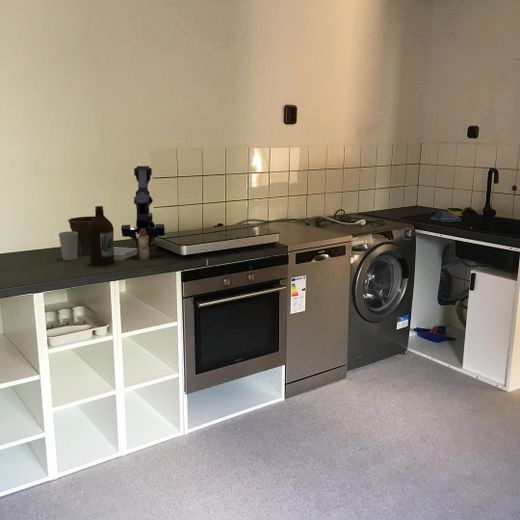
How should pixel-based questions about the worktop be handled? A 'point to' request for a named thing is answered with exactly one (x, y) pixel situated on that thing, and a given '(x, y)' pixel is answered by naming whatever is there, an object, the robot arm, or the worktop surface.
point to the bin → (124, 253)
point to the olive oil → (101, 239)
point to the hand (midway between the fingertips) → (143, 246)
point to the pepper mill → (143, 245)
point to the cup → (69, 245)
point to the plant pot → (81, 232)
